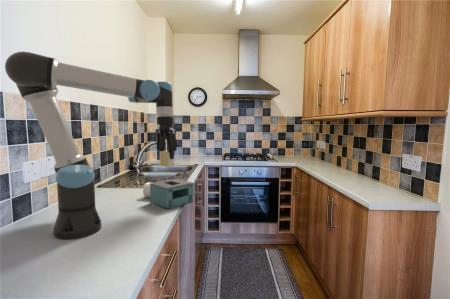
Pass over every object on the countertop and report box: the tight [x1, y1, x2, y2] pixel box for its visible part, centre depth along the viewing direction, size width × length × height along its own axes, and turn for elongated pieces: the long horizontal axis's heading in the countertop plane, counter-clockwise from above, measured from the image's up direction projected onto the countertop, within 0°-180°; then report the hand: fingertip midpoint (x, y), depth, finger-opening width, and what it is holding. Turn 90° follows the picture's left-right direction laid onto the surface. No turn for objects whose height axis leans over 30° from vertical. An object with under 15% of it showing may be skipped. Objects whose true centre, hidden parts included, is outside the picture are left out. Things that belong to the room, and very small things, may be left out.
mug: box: [142, 182, 151, 198], centre depth 138 cm, size 12×10×8 cm
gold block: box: [159, 149, 171, 168], centre depth 120 cm, size 6×3×7 cm, turn 46°
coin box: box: [149, 178, 194, 210], centre depth 127 cm, size 16×14×10 cm
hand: (166, 164), depth 121 cm, fingers closed on gold block, 6 cm apart
